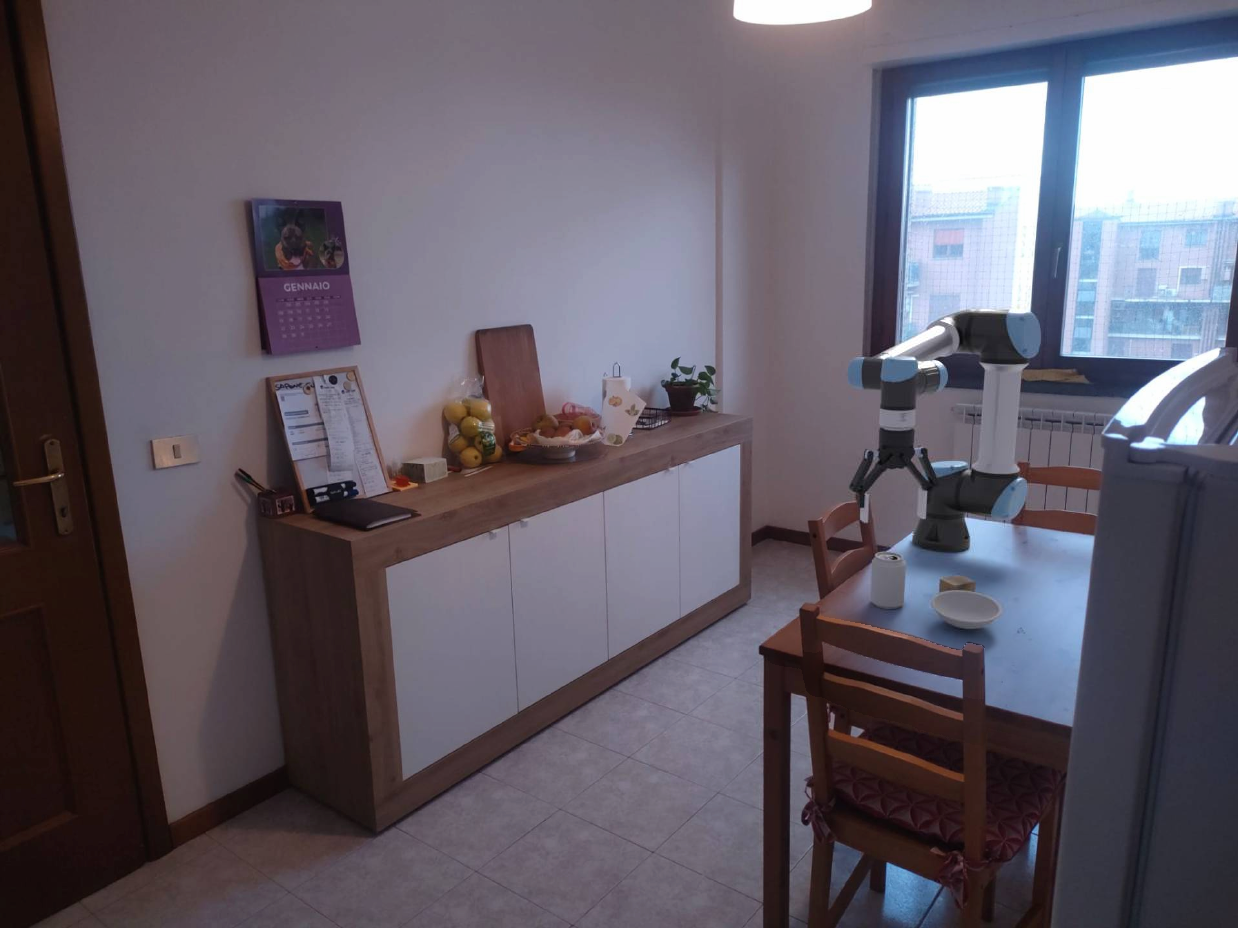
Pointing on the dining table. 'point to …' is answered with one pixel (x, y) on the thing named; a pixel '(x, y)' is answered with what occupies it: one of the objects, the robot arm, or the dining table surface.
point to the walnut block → (956, 584)
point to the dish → (966, 608)
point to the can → (888, 580)
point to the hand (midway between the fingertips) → (892, 519)
